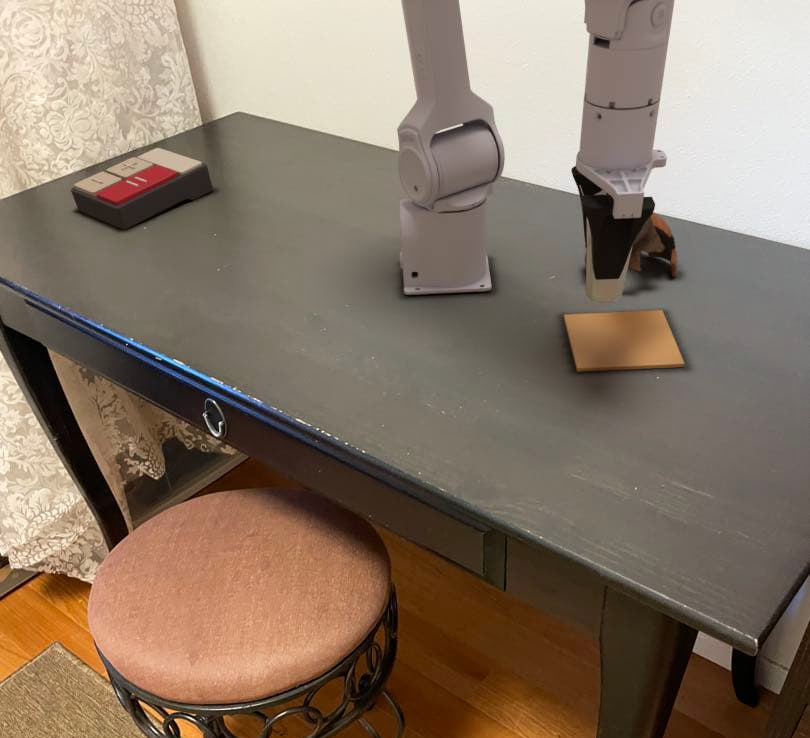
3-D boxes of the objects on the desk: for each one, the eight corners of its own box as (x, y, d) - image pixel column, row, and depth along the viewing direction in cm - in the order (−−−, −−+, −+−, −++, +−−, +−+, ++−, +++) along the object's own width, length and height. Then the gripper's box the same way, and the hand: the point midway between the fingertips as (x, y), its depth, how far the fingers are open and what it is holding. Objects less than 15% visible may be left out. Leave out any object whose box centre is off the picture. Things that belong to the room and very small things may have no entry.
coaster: (576, 371, 80) (577, 368, 80) (563, 317, 87) (563, 314, 87) (684, 367, 79) (684, 363, 79) (661, 313, 86) (662, 309, 86)
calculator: (66, 183, 111) (157, 142, 118) (78, 214, 114) (166, 172, 122) (114, 202, 106) (206, 158, 113) (125, 235, 109) (214, 190, 116)
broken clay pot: (689, 294, 90) (665, 238, 84) (603, 324, 94) (575, 274, 88) (676, 218, 96) (654, 162, 90) (596, 251, 100) (570, 199, 94)
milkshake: (564, 285, 78) (573, 174, 71) (622, 280, 78) (637, 169, 71) (575, 310, 74) (586, 196, 67) (635, 304, 74) (652, 191, 67)
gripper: (696, 127, 59) (665, 303, 69) (656, 65, 70) (634, 226, 79) (595, 133, 60) (578, 307, 69) (569, 70, 70) (558, 229, 79)
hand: (602, 264), depth 74 cm, fingers closed on milkshake, 4 cm apart
